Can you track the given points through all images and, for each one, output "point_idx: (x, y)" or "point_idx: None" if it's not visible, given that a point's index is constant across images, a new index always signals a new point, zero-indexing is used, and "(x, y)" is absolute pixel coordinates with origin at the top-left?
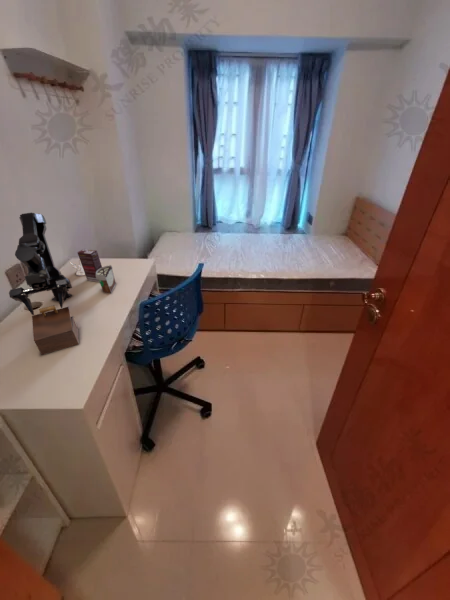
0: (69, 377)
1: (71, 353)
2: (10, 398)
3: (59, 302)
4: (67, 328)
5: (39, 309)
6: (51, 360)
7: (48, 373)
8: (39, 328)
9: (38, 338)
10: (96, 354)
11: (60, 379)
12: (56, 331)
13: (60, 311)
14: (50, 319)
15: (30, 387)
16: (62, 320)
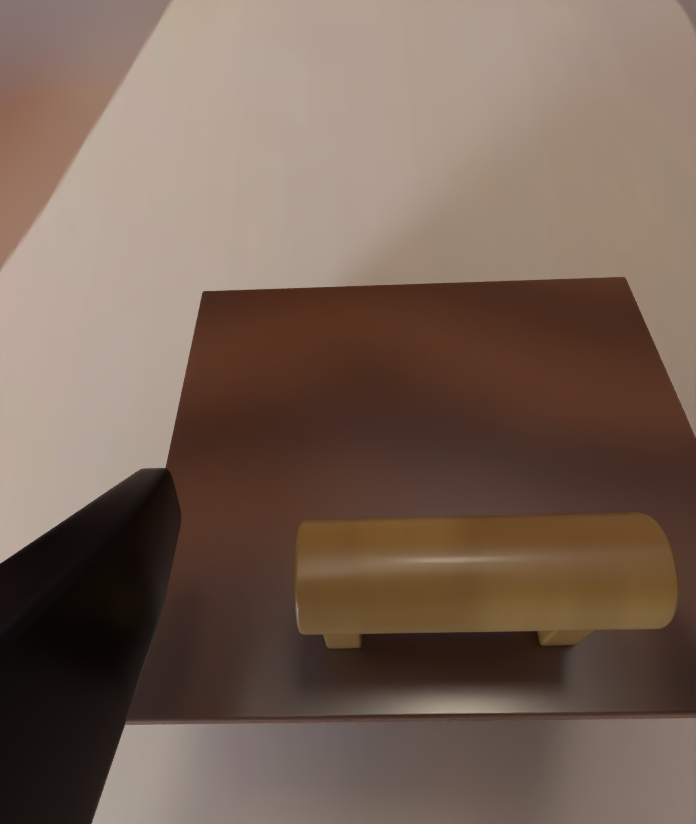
0: (324, 52)
1: (311, 277)
2: (665, 25)
3: (110, 530)
4: (249, 321)
5: (663, 556)
6: (459, 261)
7: (464, 137)
8: (594, 405)
9: (577, 289)
10: (134, 187)
11: (380, 57)
12: (376, 317)
13: (279, 636)
14: (452, 512)
15: (561, 63)
16: (282, 443)
